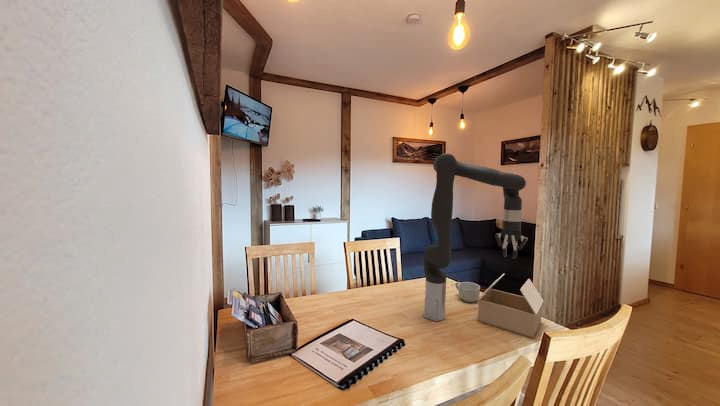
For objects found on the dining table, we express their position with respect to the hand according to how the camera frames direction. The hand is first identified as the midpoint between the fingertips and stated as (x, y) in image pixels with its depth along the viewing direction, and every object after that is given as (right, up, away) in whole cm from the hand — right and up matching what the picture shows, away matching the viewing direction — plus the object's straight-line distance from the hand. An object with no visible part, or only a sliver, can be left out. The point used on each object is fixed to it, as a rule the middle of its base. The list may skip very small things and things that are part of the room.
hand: (509, 257), depth 132 cm
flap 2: (+6, -15, -7) cm, 18 cm away
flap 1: (-6, -14, +4) cm, 16 cm away
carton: (0, -29, 0) cm, 29 cm away
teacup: (-11, -27, +25) cm, 38 cm away
